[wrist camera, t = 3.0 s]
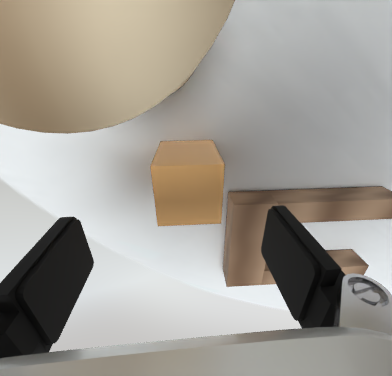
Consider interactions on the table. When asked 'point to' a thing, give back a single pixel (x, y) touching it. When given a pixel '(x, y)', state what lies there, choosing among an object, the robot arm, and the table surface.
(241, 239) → the notched board
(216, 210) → the orange-brown rectangular block
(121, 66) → the disc
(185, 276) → the table surface
